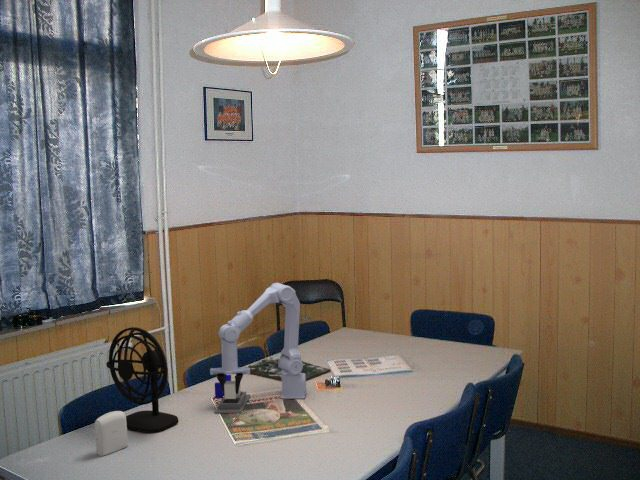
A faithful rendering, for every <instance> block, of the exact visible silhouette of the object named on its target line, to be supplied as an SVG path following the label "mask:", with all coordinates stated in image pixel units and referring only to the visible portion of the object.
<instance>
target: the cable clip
mask: <svg viewBox="0 0 640 480" xmlns="http://www.w3.org/2000/svg"><path fill="white" fill-rule="evenodd" d="M226 381H232V374H226ZM224 395H225V394H223V390H222V387H221V384H220V382H219V381H218V382H215V383H214V399H220V398H223V396H224Z"/></svg>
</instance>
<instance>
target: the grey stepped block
mask: <svg viewBox="0 0 640 480" xmlns="http://www.w3.org/2000/svg"><path fill="white" fill-rule="evenodd" d="M250 395H251V394H250V393H247V391H243V390H241V385H240V386H239V393H238V394H237V397H236V399H225V395H224V397H223V398H222V399H221V400H220V402H219V404H218V406H217V407H216V409H215V411H214V415H216V414H217V415H221V414H220V413H242V412H244V411H243V409H244V407H245V408H246V406H247V404H248V402H249V400H250V398H251V396H250ZM249 397H250V398H249ZM248 399H249V400H248ZM247 401H248V402H247ZM246 403H247V404H246ZM245 405H246V406H245ZM244 410H245V409H244ZM242 414H243V413H242Z"/></svg>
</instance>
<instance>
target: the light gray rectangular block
mask: <svg viewBox="0 0 640 480" xmlns="http://www.w3.org/2000/svg"><path fill="white" fill-rule="evenodd" d="M224 393H225V399H236V397H237V394H236V383H235V380H231V381H226V382H225V384H224Z"/></svg>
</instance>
